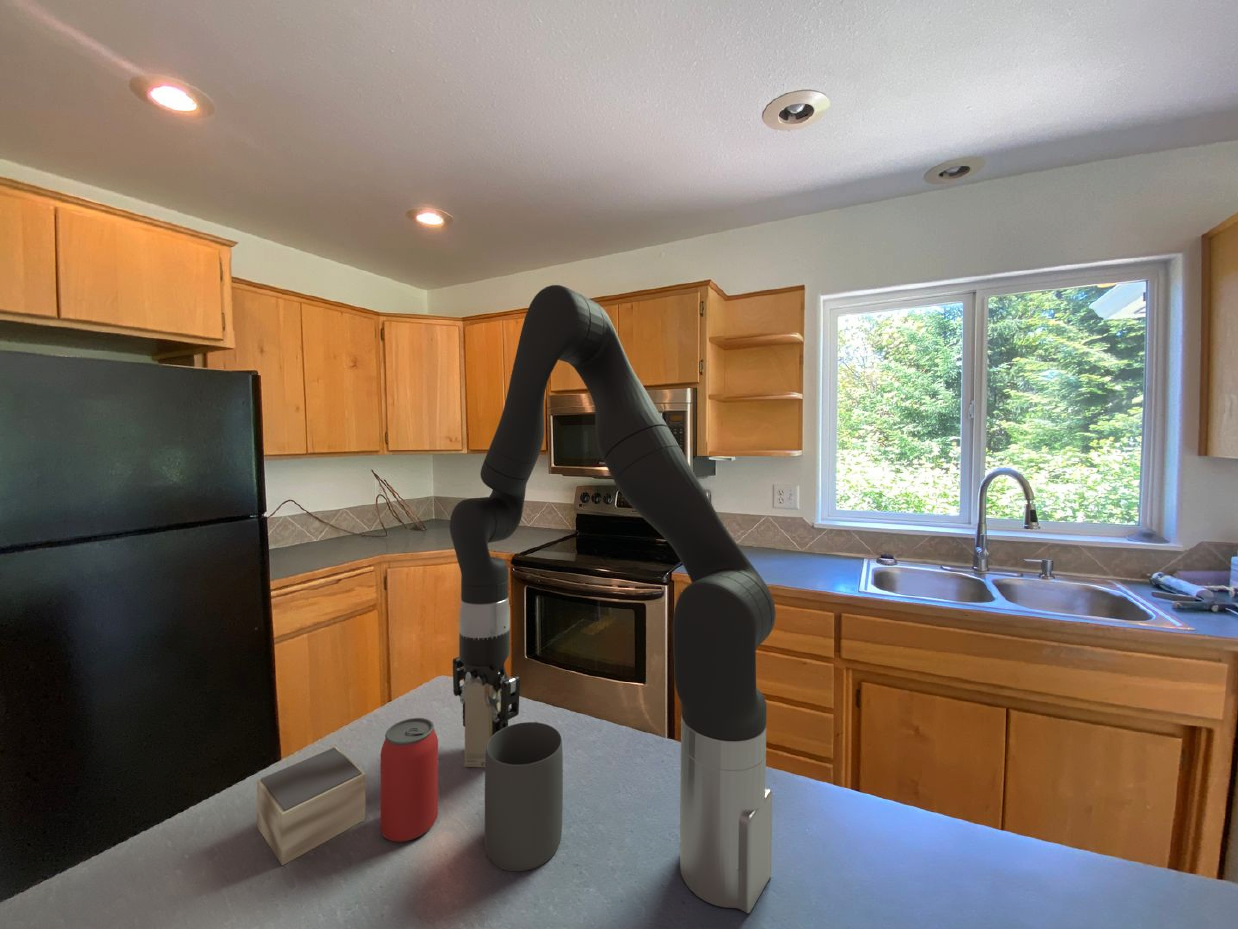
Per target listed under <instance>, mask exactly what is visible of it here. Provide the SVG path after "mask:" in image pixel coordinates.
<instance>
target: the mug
mask: <svg viewBox="0 0 1238 929" xmlns="http://www.w3.org/2000/svg"><path fill="white" fill-rule="evenodd" d="M563 755H564V754H563V740H562V736H561V733H560V732H559V731H558V730H557V729H556V728H555V727H553V726H551V725H549V724H546V723H541V722H538V721H534V722H533V721H530V722H529V721H527V722H525V721H524V722H518V723H514V724H510V725H508V726H507V727H505V728H503V729H501V730H499V731H498V732H496V733H495V734H494V735H493V736H492V737H491V738H490V739H489V741H488V743H487V747H486V758H485V767H484V838H485V840H484V841H485V850H486V854H487V856H488V858H489V860H490V862H492V863H493V864H494V865H495V866H497V867H498V868H500V869H502V870H505V871H509V872H524V871H525V872H526V871H529V870H533V869H535V868H538V867H540V866H542V865H543V864H545V863H546V862H548V861H549V860H550V859H551V858H553V856H554V855H555V854H556V853H557V851H558V849H559V846H560V844H561V840H562V832H563V810H564V809H563V807H564V806H563V805H564V804H563V802H564V801H563V798H564V796H563V795H564V794H563V793H564V791H563V790H564V780H563V779H564V775H563V774H564V773H563V772H564V766H563V763H564V762H563V761H564V760H563V759H564V757H563Z"/></svg>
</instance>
